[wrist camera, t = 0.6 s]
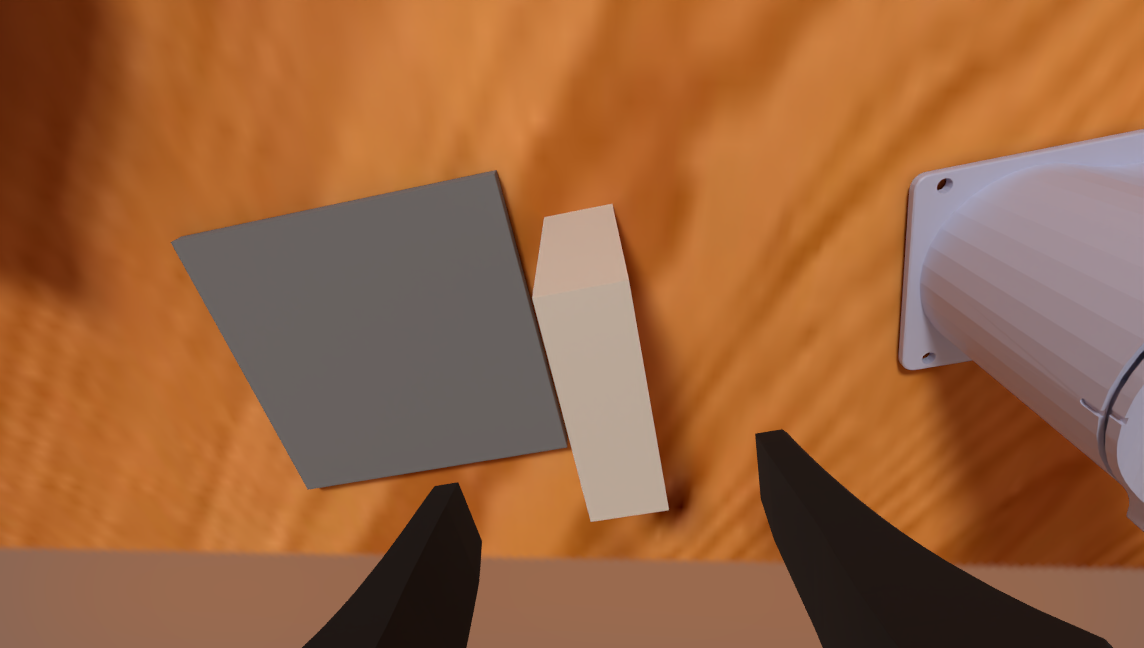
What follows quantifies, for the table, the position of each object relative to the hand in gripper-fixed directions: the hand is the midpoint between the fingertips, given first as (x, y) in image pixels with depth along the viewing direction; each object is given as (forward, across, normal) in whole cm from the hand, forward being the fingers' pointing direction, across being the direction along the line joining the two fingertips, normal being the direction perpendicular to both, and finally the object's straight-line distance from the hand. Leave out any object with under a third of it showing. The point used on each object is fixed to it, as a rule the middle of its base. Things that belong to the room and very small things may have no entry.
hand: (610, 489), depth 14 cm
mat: (+10, +8, 0) cm, 13 cm away
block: (+10, 0, 0) cm, 10 cm away
